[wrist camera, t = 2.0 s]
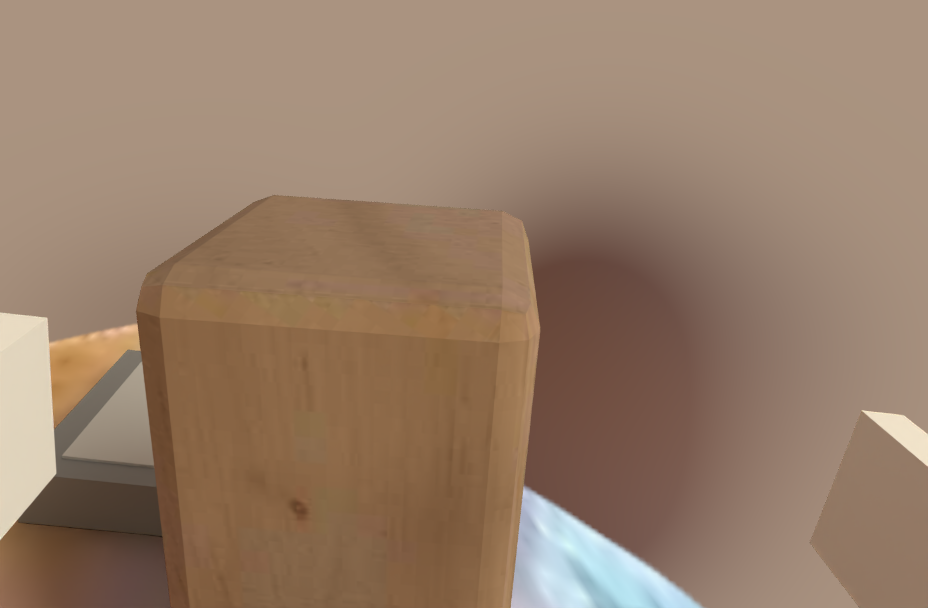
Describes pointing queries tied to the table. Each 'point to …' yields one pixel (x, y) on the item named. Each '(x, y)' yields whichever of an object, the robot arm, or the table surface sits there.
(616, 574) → the table surface
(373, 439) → the wooden block
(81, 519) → the slate base
